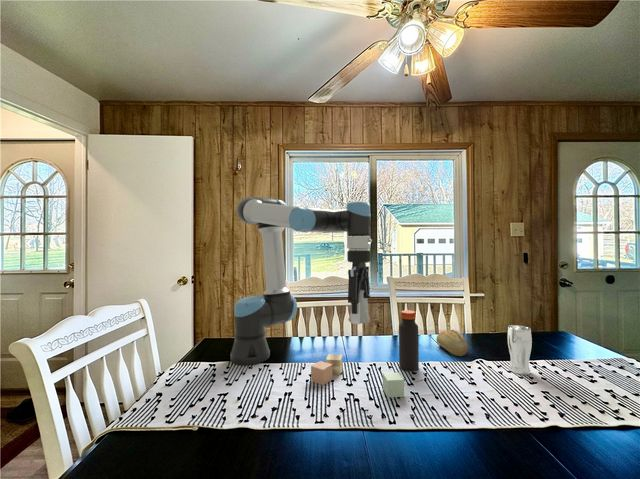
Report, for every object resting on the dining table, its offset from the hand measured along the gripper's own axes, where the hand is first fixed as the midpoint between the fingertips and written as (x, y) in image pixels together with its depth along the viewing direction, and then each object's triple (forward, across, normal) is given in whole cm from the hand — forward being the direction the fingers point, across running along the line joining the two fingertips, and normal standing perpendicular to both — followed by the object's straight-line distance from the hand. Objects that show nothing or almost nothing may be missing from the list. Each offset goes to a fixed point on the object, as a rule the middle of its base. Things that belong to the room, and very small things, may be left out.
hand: (359, 320), depth 97 cm
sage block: (+20, -2, -11) cm, 23 cm away
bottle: (+20, +18, -12) cm, 30 cm away
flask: (0, 0, 0) cm, 0 cm away
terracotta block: (+20, -4, +12) cm, 24 cm away
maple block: (+20, +4, +11) cm, 23 cm away
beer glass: (+20, +31, -47) cm, 60 cm away
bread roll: (+20, +42, -25) cm, 53 cm away
